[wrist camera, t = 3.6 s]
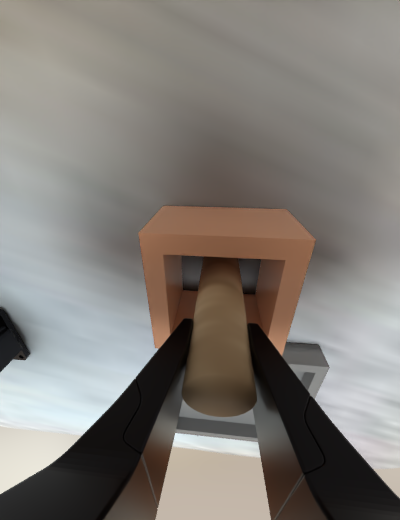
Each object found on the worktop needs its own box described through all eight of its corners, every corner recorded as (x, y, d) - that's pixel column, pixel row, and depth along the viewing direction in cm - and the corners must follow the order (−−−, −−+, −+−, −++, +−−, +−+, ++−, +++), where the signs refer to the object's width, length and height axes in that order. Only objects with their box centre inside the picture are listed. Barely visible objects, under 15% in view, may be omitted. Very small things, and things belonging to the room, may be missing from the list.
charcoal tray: (172, 411, 25) (169, 432, 23) (164, 333, 19) (158, 352, 17) (287, 423, 24) (292, 445, 22) (319, 345, 18) (329, 367, 16)
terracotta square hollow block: (170, 299, 17) (155, 348, 13) (163, 205, 13) (138, 232, 9) (267, 305, 16) (281, 358, 12) (286, 209, 13) (315, 239, 9)
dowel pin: (203, 274, 15) (182, 413, 8) (203, 244, 14) (180, 370, 6) (236, 276, 15) (251, 420, 7) (240, 245, 14) (262, 378, 6)
